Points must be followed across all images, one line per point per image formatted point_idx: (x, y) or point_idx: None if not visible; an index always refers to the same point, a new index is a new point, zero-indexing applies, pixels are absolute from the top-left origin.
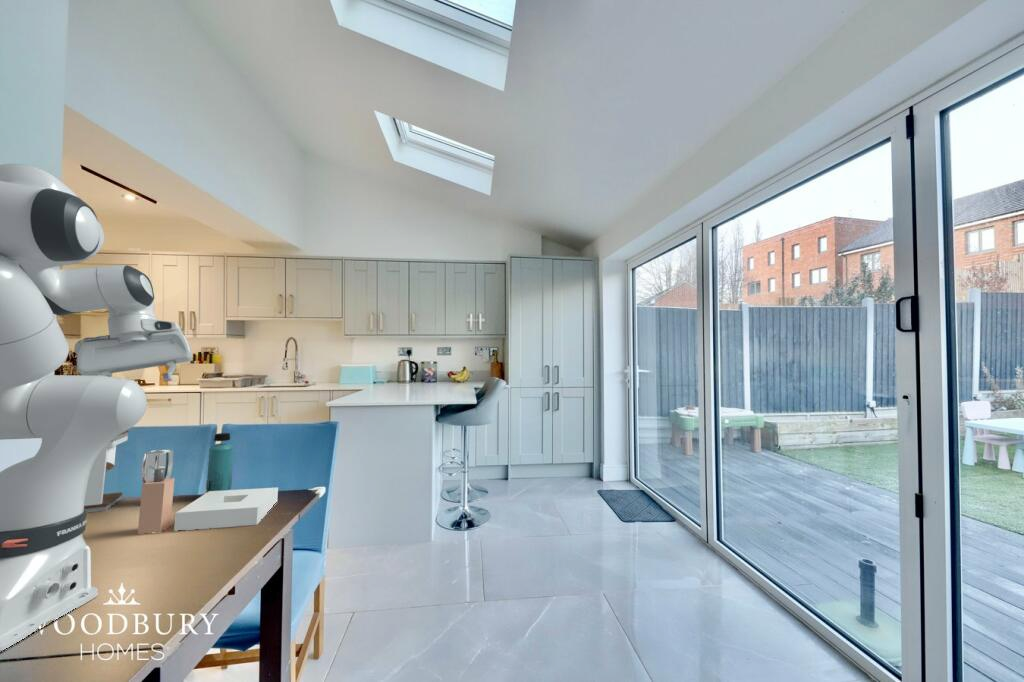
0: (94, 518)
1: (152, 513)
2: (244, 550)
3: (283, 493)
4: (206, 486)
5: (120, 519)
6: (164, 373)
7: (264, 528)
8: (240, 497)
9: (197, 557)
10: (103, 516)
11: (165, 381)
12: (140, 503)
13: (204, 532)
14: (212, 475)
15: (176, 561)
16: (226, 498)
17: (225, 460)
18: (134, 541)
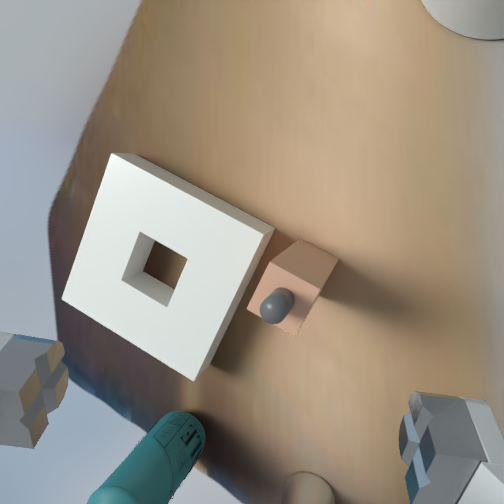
0: None
1: (307, 255)
2: (166, 3)
3: (69, 352)
4: (198, 446)
5: (371, 407)
6: (2, 389)
7: (124, 119)
8: (139, 287)
9: (241, 21)
10: (403, 462)
11: (60, 372)
12: (334, 500)
13: (224, 177)
14: (174, 449)
15: (275, 23)
16: (165, 303)
17: (126, 464)
18: (343, 215)
